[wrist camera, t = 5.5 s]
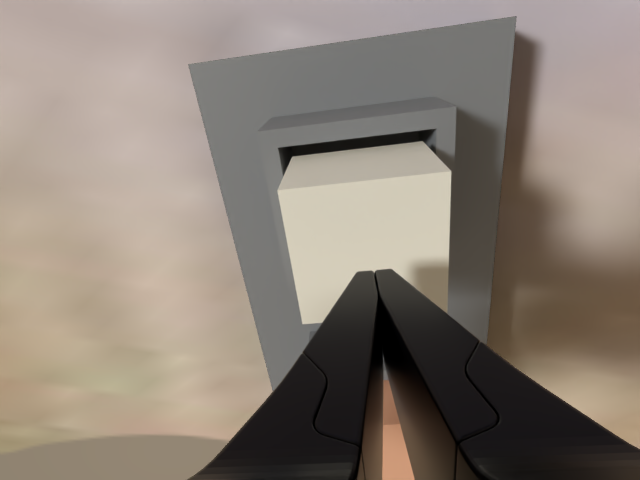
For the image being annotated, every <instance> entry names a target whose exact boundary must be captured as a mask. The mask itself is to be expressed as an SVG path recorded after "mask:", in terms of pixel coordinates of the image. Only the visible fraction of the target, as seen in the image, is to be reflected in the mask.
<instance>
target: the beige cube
mask: <svg viewBox="0 0 640 480" xmlns="http://www.w3.org/2000/svg"><path fill="white" fill-rule="evenodd" d="M277 191H278V197H279V202H280V207H281V213H282V218H283V223H284V229H285V234H286V239H287V245H288V250H289V255H290V260H291V266H292V271H293V276H294V282H295V287H296V292H297V298H298V303H299V308H300V314H301V319H302V324H313V323H322V322H323V321H324V319H325V318H326V316H327V315H328V313H329V312H330V310H331V309H332V307H333V306H334V304H335V303H336V302H337V300H338V299H339V297H340V296H341V294H342V293H343V291H344V290H345V288H346V287H347V285H348V284H349V282H350V281H351V279H352V278H353V276H354V275H355V273H356V272H358V271H369V270H372V271H373V272H374V273H375V271H376V270H380V269H393V270H394V271H395V272H396V273H398V274H399V275H400V276H401V277H403V278H404V279H405V280H406V281H407V282H409V283H410V284H411V285H412V286H414V287H415V288H416V289H417V290H419V291H420V292H421V293H422V294H424V295H425V296H426V297H427V298H428V299H430V300H431V301H432V302H433V303H435V304H436V305H437V306H438V307H440V308H441V309H442V310H443V311H444V312H446V313H447V306H448V271H449V235H450V200H451V170H450V169H449V168H448V167H447V166H446V165H445V164H444V163H443V162H442V161H441V160H440V159H439V158H438V157H437V156H436V155H435V154H434V152H433V151H432V150H431V149H430V148H429V147H428V146H427V145H426V144H425V143H424V142H423V141H420V142H412V143H403V144H395V145H386V146H378V147H369V148H361V149H352V150H344V151H336V152H327V153H319V154H310V155H302V156H293V157H292V158H291V160H290V163H289V165H288V167H287V170H286V172H285V174H284V176H283V179H282V181H281V183H280V185H279V188H278V190H277Z"/></svg>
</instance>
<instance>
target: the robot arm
mask: <svg viewBox="0 0 640 480" xmlns="http://www.w3.org/2000/svg"><path fill="white" fill-rule="evenodd" d="M383 358H384V364H385V368H386V372H387V376H388V380H389V384H390V387H391V391H392V395H393V399H394V403H395V406H396V410H397V414H398V418H399V422H400V425H401V429H402V433H403V437H404V441H405V444H406V448H407V452H408V456H409V460H410V463H411V467H412V471H413V475H414V479H415V480H640V449H638V448H637V447H635V446H633V445H631V444H629V443H628V442H626V441H624V440H623V439H621V438H620V437H618V436H616V435H615V434H613V433H612V432H610V431H609V430H607V429H606V428H604V427H603V426H601V425H600V424H598V423H597V422H595V421H594V420H592V419H591V418H589V417H588V416H586V415H585V414H583V413H581V412H580V411H578V410H577V409H575V408H574V407H572V406H571V405H569V404H568V403H566V402H565V401H563V400H562V399H560V398H559V397H557V396H556V395H554V394H553V393H551V392H550V391H548V390H547V389H545V388H544V387H542V386H541V385H539V384H538V383H536V382H535V381H534V380H532V379H531V378H529V377H528V376H526V375H525V374H523V373H522V372H521V371H519V370H518V369H516V368H515V367H514V366H512V365H511V364H510V363H508V362H507V361H506V360H504V359H503V358H502V357H501V356H499V355H498V354H497V353H495V352H494V351H493V350H492V349H490V348H489V347H488V346H487V345H485V344H484V343H483V342H480V340H479V339H478V338H477V337H475V336H474V335H473V334H472V333H470V332H469V331H468V330H467V329H465V328H464V327H463V326H462V325H461V324H459V323H458V322H457V321H456V320H454V319H453V318H452V317H451V316H449V315H448V314H447V313H446V312H444V311H443V310H442V309H441V308H440V307H438V306H437V305H436V304H435V303H433V302H432V301H431V300H430V299H428V298H427V297H426V296H425V295H424V294H422V293H421V292H420V291H419V290H417V289H416V288H415V287H414V286H412V285H411V284H410V283H409V282H407V281H406V280H405V279H404V278H403V277H401V276H400V275H399V274H398V273H396V272H395V271H394V270H393V269H380V270H376V271H375V273H374V272H373V271H372V270H369V271H358V272H356V273H355V275H354V276H353V278H352V279H351V281H350V282H349V284H348V285H347V287H346V288H345V290H344V291H343V293H342V294H341V296H340V297H339V299H338V300H337V302H336V303H335V304H334V306H333V307H332V309H331V310H330V312H329V313H328V315H327V316H326V318H325V319H324V321H323V322H322V324H321V325H320V327H319V328H318V330H317V331H316V333H315V334H314V335H313V337H312V338H311V340H310V341H309V343H308V344H307V346H306V347H305V349H304V350H303V352H302V354H300V356H299V357H298V359H297V360H296V362H295V363H294V365H293V366H292V367H291V369H290V370H289V372H288V373H287V374H286V376H285V377H284V378H283V380H282V381H281V383H280V384H279V385H278V386H277V387H276V389H275V390H274V391H273V392H272V393H271V395H270V396H269V397H268V398H267V399H266V401H265V402H264V403H263V404H262V405H261V406H260V407H259V409H258V410H257V411H256V412H255V413H254V414H253V415H252V416H251V418H250V419H249V420H248V421H247V422H246V423H245V424H244V426H243V427H242V428H241V429H240V430H239V431H238V432H237V433H236V435H235V436H234V437H233V438H232V439H231V440H230V441H229V443H228V444H227V445H226V446H225V447H224V448H223V449H222V451H221V452H220V453H219V454H218V455H217V456H216V457H215V458H214V459H213V460H212V461H211V462H210V463H209V464H208V465H206V466H205V467H204V468H203V469H202V470H200V471H199V472H198V473H197V474H195V475H194V476H192V477H190V478H189V479H187V480H382V466H383V379H384V369H383Z"/></svg>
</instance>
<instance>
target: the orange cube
mask: <svg viewBox="0 0 640 480" xmlns="http://www.w3.org/2000/svg"><path fill="white" fill-rule="evenodd" d="M382 480H415V479H414V475H413V471H412V467H411V463H410V460H409V456H408V452H407V448H406V444H405V441H404V437H403V433H402V429H401V425H400V422H399V418H398V414H397V410H396V406H395V403H394V399H393V395H392V391H391V387H390V384H389V380H383V466H382Z"/></svg>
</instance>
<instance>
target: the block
mask: <svg viewBox="0 0 640 480" xmlns="http://www.w3.org/2000/svg"><path fill="white" fill-rule="evenodd" d="M515 27H516V16H515V17H508V18H501V19H494V20H487V21H480V22H474V23H467V24H460V25H453V26H446V27H440V28H433V29H426V30H419V31H412V32H405V33H399V34H392V35H385V36H378V37H371V38H365V39H358V40H351V41H344V42H337V43H330V44H324V45H317V46H310V47H303V48H296V49H290V50H283V51H276V52H269V53H262V54H255V55H249V56H242V57H235V58H228V59H221V60H215V61H208V62H201V63H194V64H188V65H189V69H190V73H191V77H192V81H193V85H194V89H195V92H196V96H197V100H198V104H199V108H200V112H201V116H202V119H203V123H204V127H205V131H206V135H207V139H208V143H209V147H210V150H211V154H212V158H213V162H214V166H215V170H216V174H217V177H218V181H219V185H220V189H221V193H222V197H223V201H224V204H225V208H226V212H227V216H228V220H229V224H230V228H231V231H232V235H233V239H234V243H235V247H236V251H237V255H238V259H239V262H240V266H241V270H242V274H243V278H244V282H245V286H246V289H247V293H248V297H249V301H250V305H251V309H252V313H253V316H254V320H255V324H256V328H257V332H258V336H259V340H260V343H261V347H262V351H263V355H264V359H265V363H266V367H267V370H268V374H269V378H270V382H271V386H272V390H273V391H274V390H275V389H276V387H277V386H278V385H279V384H280V383H281V381H282V380H283V378H284V377H285V376H286V374H287V373H288V372H289V370H290V369H291V367H292V366H293V365H294V363H295V362H296V360H297V359H298V357H299V356H300V354H302V352H303V350H304V349H305V347H306V346H307V344H308V343H309V341H310V340H311V338H312V337H313V335H314V334H315V333H316V331H317V330H318V328H319V327H320V325H321V324H322V323H313V324H302V319H301V314H300V308H299V303H298V298H297V292H296V287H295V282H294V276H293V271H292V266H291V260H290V255H289V250H288V245H287V239H286V234H285V229H284V223H283V218H282V213H281V207H280V202H279V197H278V191H277V190H278V188H279V185H280V183H281V181H282V179H283V176H284V174H285V172H286V170H287V167H288V165H289V163H290V160H291V158H292V157H293V156H302V155H310V154H319V153H327V152H336V151H344V150H352V149H361V148H369V147H378V146H386V145H395V144H403V143H412V142H420V141H423V142H424V143H425V144H426V145H427V146H428V147H429V148H430V149H431V150H432V151H433V152H434V154H435V155H436V156H437V157H438V158H439V159H440V160H441V161H442V162H443V163H444V164H445V165H446V166H447V167H448V168H449V169H450V170H451V200H450V235H449V271H448V306H447V314H448V315H449V316H451V317H452V318H453V319H454V320H456V321H457V322H458V323H459V324H461V325H462V326H463V327H464V328H465V329H467V330H468V331H469V332H470V333H472V334H473V335H474V336H475V337H477V338H478V339H479V340H480V342H483V343H484V344H485V345H487V336H488V325H489V314H490V303H491V292H492V281H493V270H494V259H495V248H496V237H497V226H498V215H499V204H500V193H501V182H502V171H503V160H504V149H505V138H506V127H507V116H508V105H509V94H510V82H511V71H512V60H513V49H514V38H515ZM383 369H384V379H383V380H388V376H387V372H386V368H385V364H384V358H383Z"/></svg>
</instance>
